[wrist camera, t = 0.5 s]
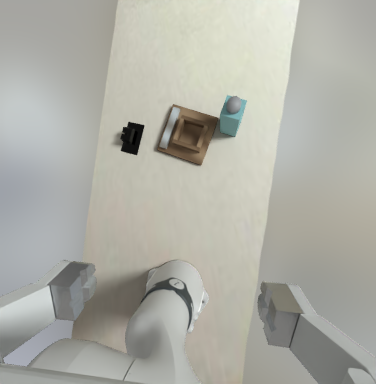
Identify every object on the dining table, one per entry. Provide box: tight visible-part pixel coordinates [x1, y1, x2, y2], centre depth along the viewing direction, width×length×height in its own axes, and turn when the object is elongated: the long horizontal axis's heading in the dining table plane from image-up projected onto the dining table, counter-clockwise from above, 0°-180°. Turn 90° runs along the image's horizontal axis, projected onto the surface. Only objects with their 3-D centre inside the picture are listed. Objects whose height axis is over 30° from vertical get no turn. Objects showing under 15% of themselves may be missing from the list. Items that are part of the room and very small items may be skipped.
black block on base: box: [121, 122, 144, 155], centre depth 57 cm, size 12×7×5 cm, turn 165°
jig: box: [157, 104, 218, 165], centre depth 54 cm, size 14×14×4 cm
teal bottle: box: [220, 95, 247, 137], centre depth 47 cm, size 4×4×14 cm
